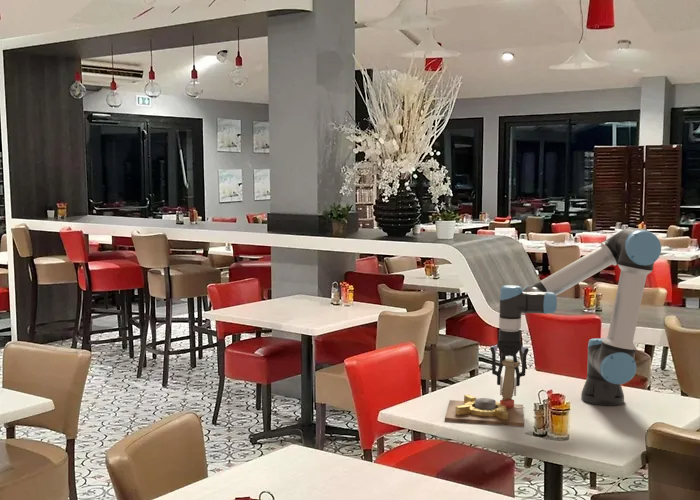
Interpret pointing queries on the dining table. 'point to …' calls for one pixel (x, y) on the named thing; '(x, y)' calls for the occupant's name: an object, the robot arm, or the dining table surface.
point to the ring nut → (498, 412)
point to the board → (486, 404)
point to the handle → (509, 378)
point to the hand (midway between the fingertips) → (508, 394)
